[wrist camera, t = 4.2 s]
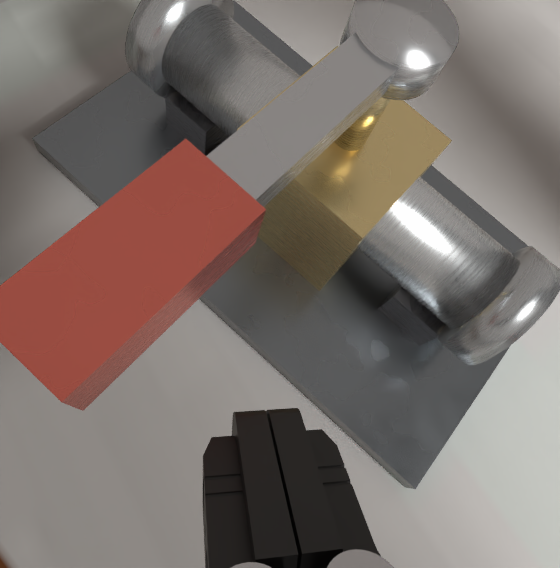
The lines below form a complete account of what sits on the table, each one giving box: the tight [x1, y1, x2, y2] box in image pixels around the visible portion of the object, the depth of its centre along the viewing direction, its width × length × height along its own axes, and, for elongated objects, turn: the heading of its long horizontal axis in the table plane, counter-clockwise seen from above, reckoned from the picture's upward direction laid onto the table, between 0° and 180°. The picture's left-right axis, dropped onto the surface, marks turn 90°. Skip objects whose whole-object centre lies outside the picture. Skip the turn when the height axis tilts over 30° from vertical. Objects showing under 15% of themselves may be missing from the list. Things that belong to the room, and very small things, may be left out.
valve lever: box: [0, 0, 459, 410], centre depth 14 cm, size 17×4×2 cm, turn 139°
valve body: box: [32, 0, 560, 489], centre depth 23 cm, size 27×16×12 cm, turn 49°
